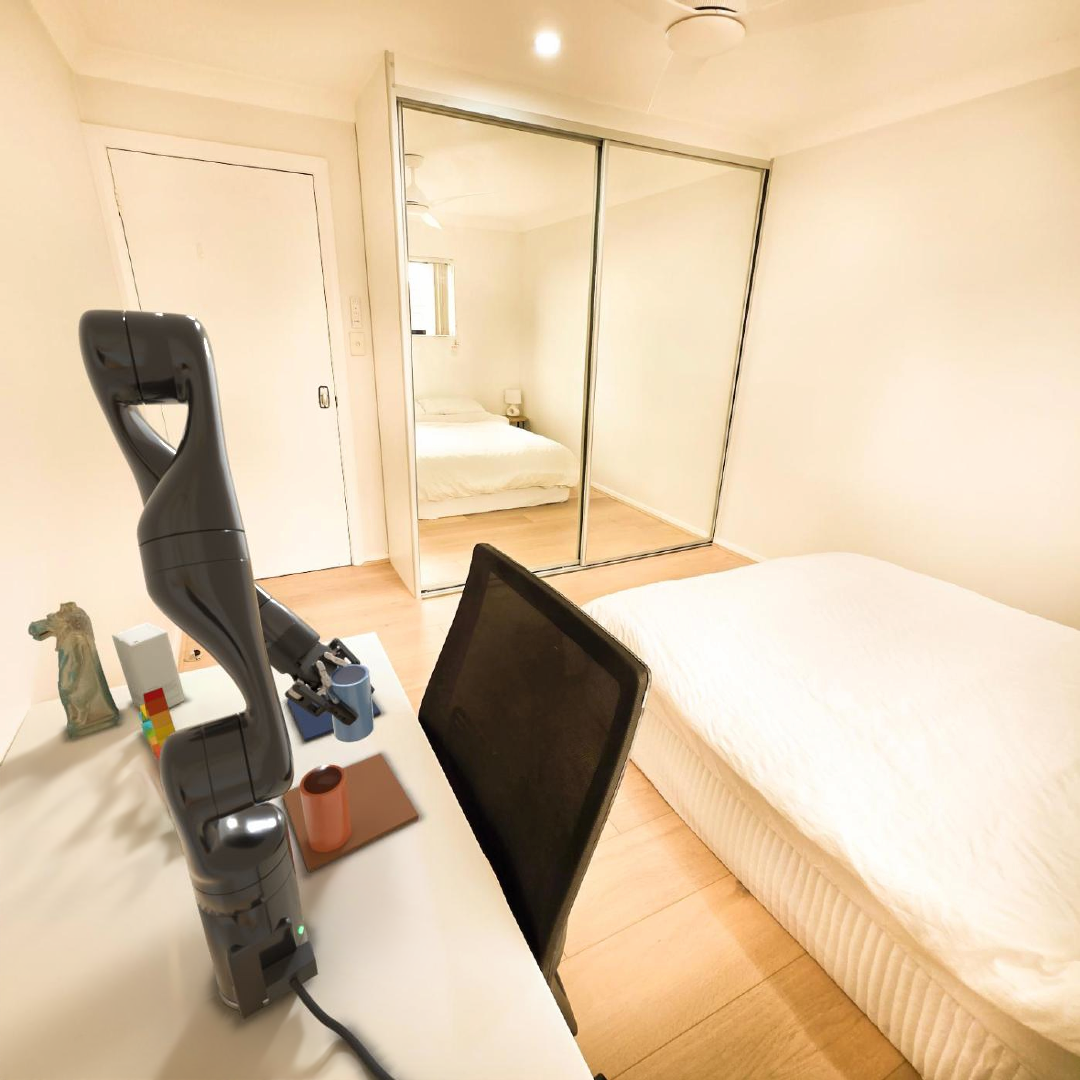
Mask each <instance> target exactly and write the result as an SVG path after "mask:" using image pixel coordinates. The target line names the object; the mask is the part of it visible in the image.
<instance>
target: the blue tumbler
mask: <svg viewBox="0 0 1080 1080" xmlns="http://www.w3.org/2000/svg"><path fill="white" fill-rule="evenodd" d="M329 678H330V679H331V681H332V683H331V685H332V689H333V691H334V692H335V693H336V695H337V697H338V698H339V701H340V700H342V701H343V702H344V703H345V704H347V705H348V706H349V707H350V708H351V709H353V710H354V711H355V712H356V713H357V714H358V718H357V720H356V721H355V722H354V723H352V724H351V725H345V724H343V723H342V722H340V721H339V720H338V719H337V718H336V717H334V716H333V715H332V721H333V729H334V731H333V735H334V737H335V739H336V740H337V741H339V742H343V743H354V742H355V743H356V742H359V741H361V740H364V739H366V738H367V737H368V736H370V735H371V734H372V732H373V731H374V728H375V719H374V717H373V708H372V700H373V698H372V695H371V685H372V684H371V675H370V669H369V668H368V667H366V666H365V665H362V664H360V665H358V664H351V665H345V666H344V667H339V668H337V669H336V670H335V671H334V672H333V674H332V675H331V676H330V677H329ZM370 684H371V685H370Z"/></svg>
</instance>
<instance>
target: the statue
mask: <svg viewBox="0 0 1080 1080" xmlns="http://www.w3.org/2000/svg"><path fill="white" fill-rule="evenodd" d="M59 606H60V607H59V609H58V610H57V611H55V612H51V613H48V614H47V615H46V618H42V619H39V620H36V621H31V622H30V624H29V625H28V629H27V631H28V635H30V636H32V639H33V640H35V641H36V642H37V641H38V642H43V641H45V640H47V639H49V638H51V637H54V638H56V642H55V648H54V651H55V652H57V661H58V662H57V663H58V664H57V666H58V681H57V689H58V695H59V699H60V702H61V704H62V706H63V709H64V712H65V715H66V720H67V722H66V730H67V731H66V733H67V736H68V739H70V740H71V739H72V740H73V739H78V738H81V737H84V736H87V735H90V734H94V733H97V732H99V731H103V730H106V729H109V728H112V727H115V726H117V725H118V723H119V719H120V718H119V717H120V709H119V708H118V707H117V704H116V702H115V699H114V698H113V695H112V693H111V690H110V686H109V684H108V680H107V677H106V675H105V671H104V669H103V666H102V662H101V659H100V656H99V652H98V649H97V645H96V643H95V641H96V638H95V634H94V633H95V632H94V629H93V625H92V620H91V617H90V616H89V615H88V614H87V611H85V610H84V609H83V608H81V607H80V606H78V604H77V603H76V601H68V602H64V603H63V602H61V603H60V604H59Z"/></svg>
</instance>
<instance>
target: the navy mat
mask: <svg viewBox="0 0 1080 1080" xmlns="http://www.w3.org/2000/svg"><path fill="white" fill-rule="evenodd" d="M318 690H321V688H320V689H318ZM325 697H326V699H327V700H329V699H328V697H327V695H325ZM286 701H287V703H288V706H289V708H290V710H291V713H292V715H293V717H294V720H295V721H296V724H297V726H298V729H299V732H300V733H301V735H302V737H303V740H304V742H308V741H311V740H313V739H316V738H319V737H322V736H325V735H327V734H330V733H334V729H333V721H332V714H331V713H329V712H325V713H324V714H322V715H320V716H319V717H315V716H314V715H312V714H311V713H309V712H308V711H306V710H305V709H303V708H302V707H300V706H299V705H297V704H296V703H294V702H293V701H291V700H289V699H288V698H287V699H286ZM311 703H312V704H314V705H315V706H317V707H318V705H317V704H315V703H314V702H311ZM372 708H373V718H374V717H377V716H379V715H381V714H382V713H381V710H380V709H379V707H378V705H377V703H375V701H374V699H372Z"/></svg>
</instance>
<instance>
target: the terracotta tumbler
mask: <svg viewBox="0 0 1080 1080" xmlns="http://www.w3.org/2000/svg"><path fill="white" fill-rule="evenodd" d="M299 786H300V794H301V800H302V807H303V813H304V820H305V826H306V833H307V839H308V844H309V846H310V848H311V849H312V850H314V851H316V852H330V851H333V850H336V849H338V848H339V847H341V846H342V845H343V844H345V843H346V841H347V840H348V839H349V837H350V835H351V833H352V824H351V816H350V807H349V799H348V790H347V781H346V773H345V771H344V770H343V767H341V766H340V765H336V764H323V765H320V766H316V767H314V768H313V769H311V770H309V771H308V772H307V773H306V774H305V775H303V777H302V778H301V780H300V782H299Z"/></svg>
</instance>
